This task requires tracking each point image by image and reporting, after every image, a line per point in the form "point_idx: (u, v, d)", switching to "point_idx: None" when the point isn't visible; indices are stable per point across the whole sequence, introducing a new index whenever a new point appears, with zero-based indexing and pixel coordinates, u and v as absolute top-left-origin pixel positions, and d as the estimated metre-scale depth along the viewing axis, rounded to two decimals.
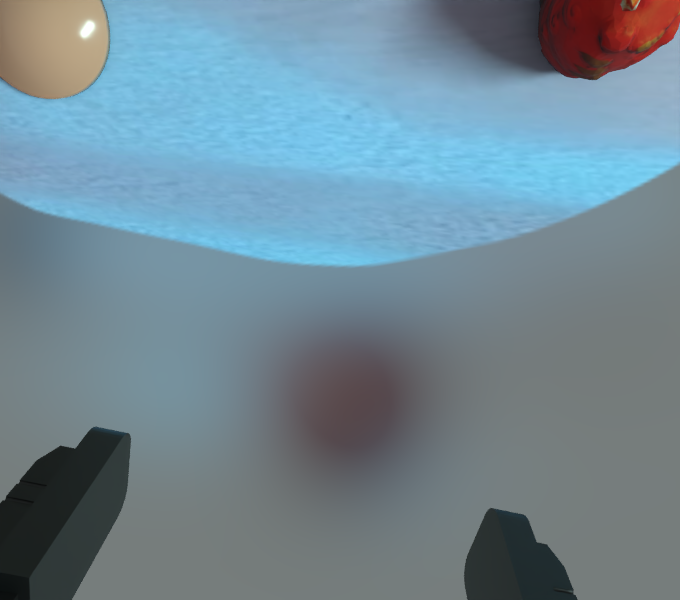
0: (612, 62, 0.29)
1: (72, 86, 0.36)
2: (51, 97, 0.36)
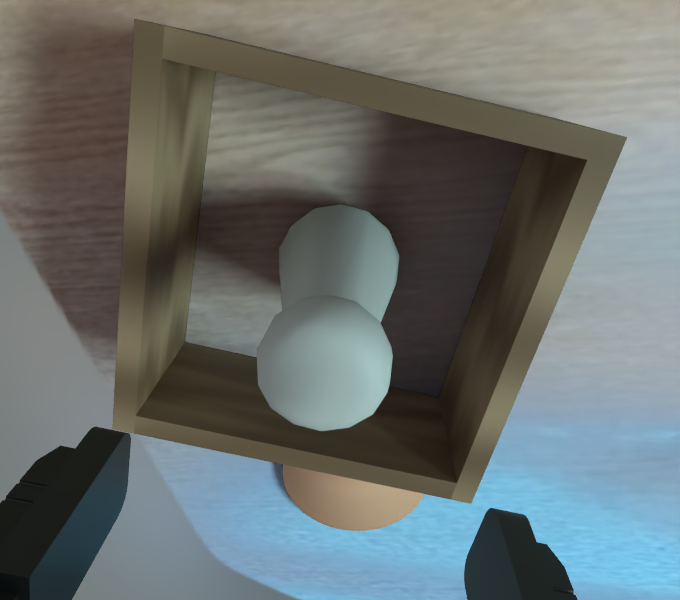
0: None
1: (378, 523, 0.34)
2: (353, 529, 0.35)
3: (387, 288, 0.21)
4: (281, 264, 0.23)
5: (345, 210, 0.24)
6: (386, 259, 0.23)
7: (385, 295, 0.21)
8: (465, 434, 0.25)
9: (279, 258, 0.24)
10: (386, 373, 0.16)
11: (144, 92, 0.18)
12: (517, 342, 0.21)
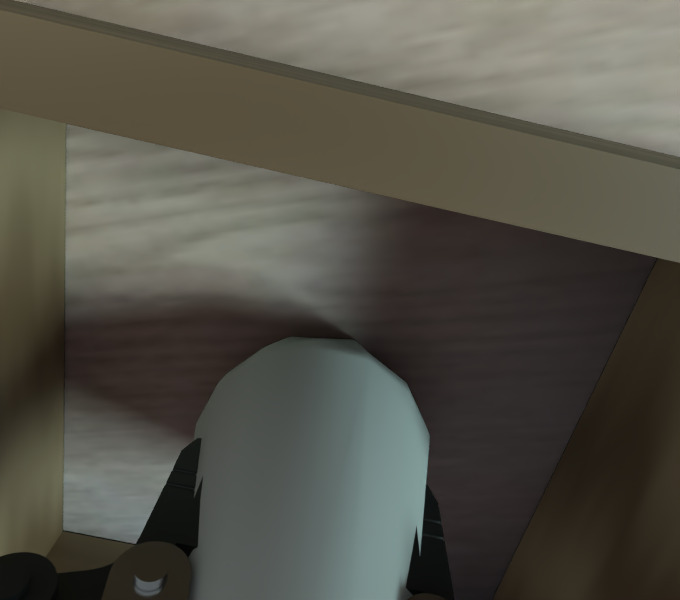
0: None
1: None
2: None
3: None
4: None
5: (324, 361, 0.12)
6: (409, 482, 0.11)
7: None
8: None
9: None
10: None
11: None
12: None
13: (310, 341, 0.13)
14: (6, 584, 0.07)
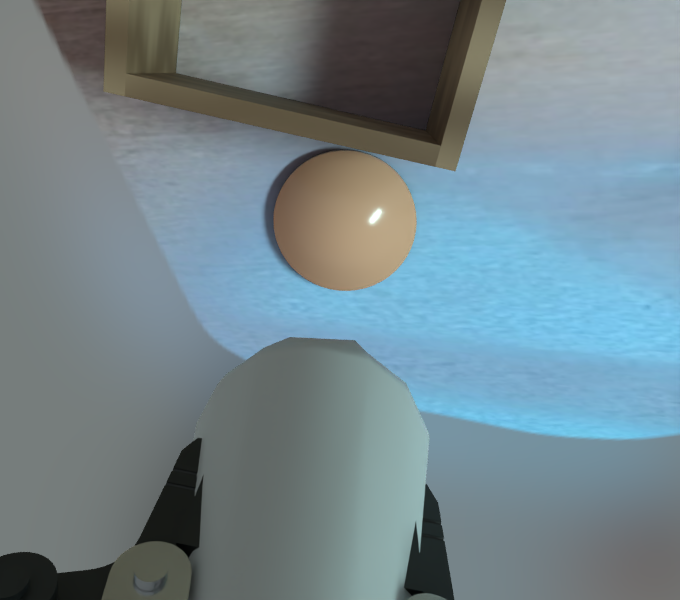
0: None
1: (368, 280, 0.35)
2: (344, 288, 0.35)
3: None
4: None
5: (323, 361, 0.12)
6: (408, 483, 0.11)
7: None
8: (449, 102, 0.25)
9: None
10: None
11: None
12: None
13: (309, 342, 0.13)
14: (6, 584, 0.07)
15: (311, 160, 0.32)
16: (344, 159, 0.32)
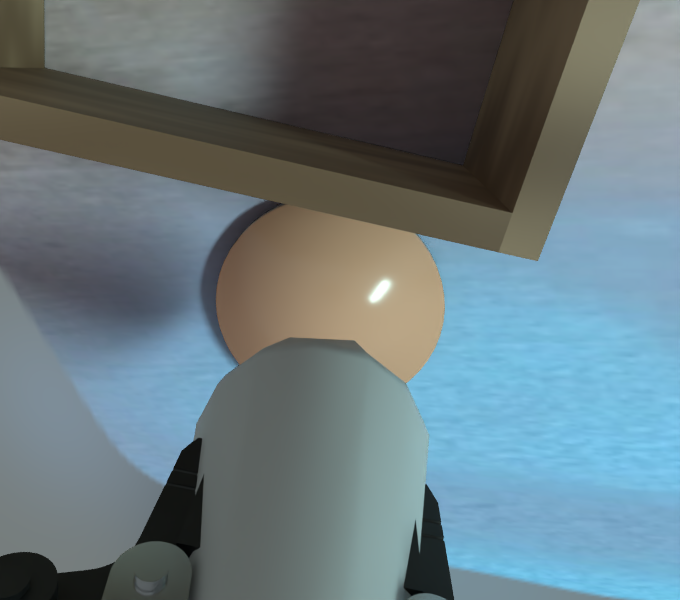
0: None
1: None
2: None
3: None
4: None
5: (322, 361, 0.12)
6: (408, 483, 0.11)
7: None
8: (526, 126, 0.13)
9: None
10: None
11: None
12: None
13: (309, 342, 0.13)
14: (6, 584, 0.07)
15: (274, 212, 0.19)
16: None
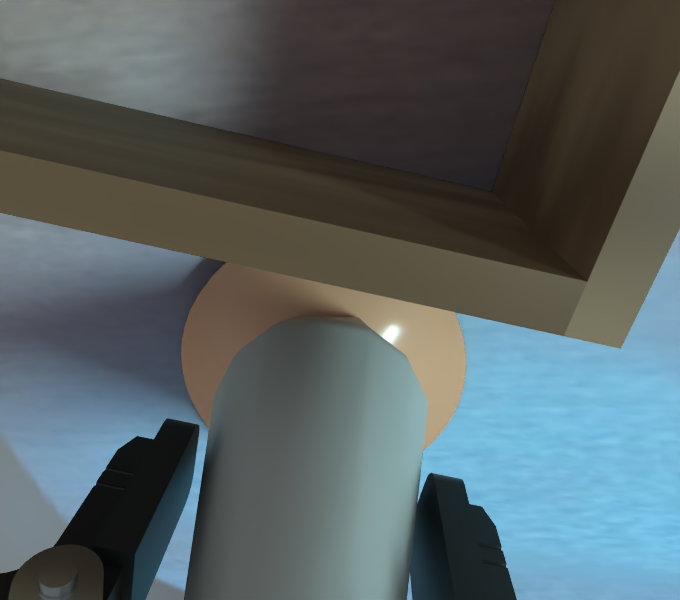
0: None
1: None
2: None
3: (412, 524, 0.11)
4: (208, 447, 0.12)
5: (328, 335, 0.13)
6: (407, 442, 0.12)
7: (409, 554, 0.10)
8: (605, 151, 0.09)
9: (210, 423, 0.13)
10: None
11: None
12: None
13: (316, 318, 0.14)
14: None
15: None
16: None
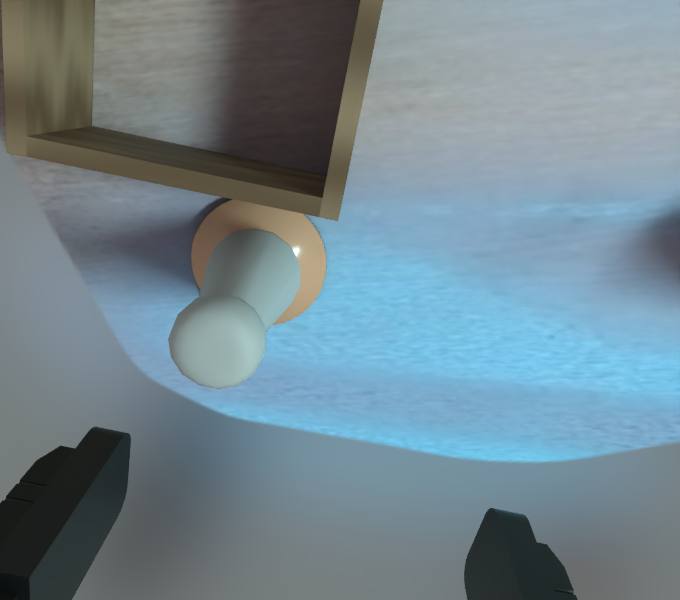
0: None
1: (285, 315, 0.37)
2: None
3: (280, 289, 0.29)
4: (205, 275, 0.31)
5: (254, 232, 0.31)
6: (282, 268, 0.30)
7: (276, 294, 0.28)
8: None
9: None
10: (256, 344, 0.23)
11: None
12: (356, 35, 0.24)
13: None
14: None
15: (223, 205, 0.34)
16: (254, 204, 0.34)
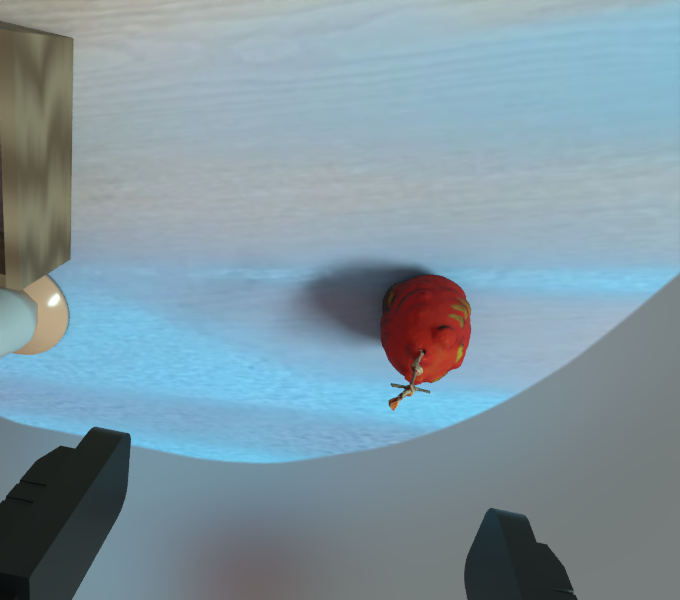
0: None
1: (41, 347, 0.47)
2: (25, 353, 0.48)
3: None
4: None
5: None
6: (1, 319, 0.41)
7: None
8: None
9: None
10: None
11: None
12: (3, 168, 0.35)
13: None
14: None
15: None
16: None
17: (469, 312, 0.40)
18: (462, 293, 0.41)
